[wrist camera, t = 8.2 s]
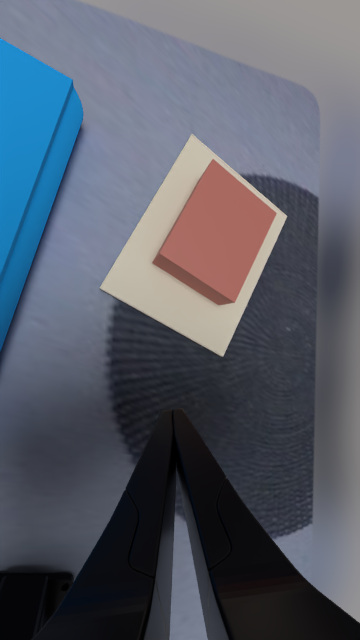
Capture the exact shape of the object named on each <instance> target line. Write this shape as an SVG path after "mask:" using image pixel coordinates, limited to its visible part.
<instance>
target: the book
mask: <svg viewBox="0 0 360 640" xmlns="http://www.w3.org/2000/svg"><path fill="white" fill-rule="evenodd" d="M82 120H83V108H82V104H81V101H80V99H79V96H78V94H77V92H76V91H75V89H74V87H73V80H72V79H70V78H69V77H67V76H65V75H63V74H62V73H60V72H58V71H56V70H55V69H53V68H51V67H49V66H48V65H46V64H44V63H43V62H41V61H39V60H37V59H36V58H34V57H32V56H30V55H29V54H27V53H25V52H23V51H22V50H20V49H18V48H16V47H15V46H13V45H11V44H9V43H8V42H6V41H4V40H3V39H1V38H0V351H1V349H2V346H3V343H4V340H5V337H6V334H7V332H8V329H9V326H10V323H11V320H12V318H13V315H14V312H15V309H16V306H17V303H18V301H19V298H20V295H21V292H22V289H23V287H24V284H25V281H26V278H27V275H28V273H29V270H30V267H31V264H32V261H33V258H34V256H35V253H36V250H37V247H38V244H39V242H40V239H41V236H42V233H43V230H44V228H45V225H46V222H47V219H48V216H49V213H50V211H51V208H52V205H53V202H54V199H55V197H56V194H57V191H58V188H59V185H60V182H61V180H62V177H63V174H64V171H65V168H66V166H67V163H68V160H69V157H70V154H71V152H72V149H73V146H74V143H75V140H76V137H77V135H78V132H79V129H80V126H81V123H82Z"/></svg>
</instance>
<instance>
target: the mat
mask: <svg viewBox="0 0 360 640" xmlns="http://www.w3.org/2000/svg"><path fill="white" fill-rule="evenodd" d="M212 159H214V160H215V161H216V162H218V163H219V164H220V165H221V166H222V167H223V168H225V169H226V170H227V171H228V172H229V173H230V174H232V175H233V176H234V177H235V178H236V179H237V180H239V181H240V182H241V183H242V184H243V185H244V186H246V187H247V188H248V189H249V190H250V191H251V192H253V193H254V194H255V195H256V196H257V197H259V198H260V199H261V200H262V201H263V202H264V203H266V204H267V205H268V206H269V207H270V208H271V209H273V210H274V211H275V212H276V213H277V214H276V216H275V218H274V220H273V222H272V225H271V227H270V229H269V231H268V233H267V235H266V237H265V240H264V242H263V244H262V246H261V248H260V250H259V252H258V254H257V257H256V259H255V261H254V263H253V265H252V267H251V269H250V272H249V274H248V276H247V278H246V280H245V282H244V284H243V286H242V289H241V291H240V293H239V295H238V297H237V299H236V301H235V303H231V304H225V305H217V304H216V303H214V302H213V301H211V300H209V299H208V298H206V297H205V296H203V295H202V294H200V293H198V292H197V291H195V290H194V289H192V288H190V287H189V286H187V285H186V284H184V283H183V282H181V281H179V280H178V279H176V278H175V277H173V276H172V275H170V274H168V273H167V272H165V271H164V270H162V269H161V268H159V267H157V266H156V265H154V264H153V263H152V262H153V260H154V258H155V257H156V255H157V253H158V251H159V249H160V248H161V246H162V244H163V242H164V241H165V239H166V237H167V235H168V234H169V232H170V230H171V228H172V226H173V225H174V223H175V221H176V219H177V218H178V216H179V214H180V212H181V210H182V209H183V207H184V205H185V203H186V202H187V200H188V198H189V196H190V195H191V193H192V191H193V189H194V187H195V186H196V184H197V182H198V180H199V179H200V177H201V176H202V174H203V173H204V171H205V170H206V168H207V167H208V165H209V164H210V162H211V161H212ZM286 218H287V216H286V215H285V214H284V213H283V212H282V211H280V210H279V209H278V208H277V207H276V206H275V205H273V204H272V203H271V202H270V201H269V200H268V199H267V198H265V197H264V196H263V195H262V194H261V193H260V192H258V191H257V190H256V189H255V188H254V187H253V186H252V185H250V184H249V183H248V182H247V181H246V180H245V179H243V178H242V177H241V176H240V175H239V174H238V173H236V172H235V171H234V170H233V169H232V168H231V167H230V166H228V165H227V164H226V163H225V162H224V161H223V160H221V159H220V158H219V157H218V156H217V155H216V154H214V153H213V152H212V151H211V150H210V149H209V148H208V147H206V146H205V145H204V144H203V143H202V142H201V141H199V140H198V139H197V138H196V137H195V136H194V135H191V137H190V138H189V140H188V142H187V143H186V145H185V147H184V148H183V150H182V152H181V153H180V155H179V157H178V158H177V160H176V162H175V163H174V165H173V167H172V168H171V170H170V172H169V173H168V175H167V177H166V178H165V180H164V182H163V183H162V185H161V187H160V188H159V190H158V192H157V193H156V195H155V197H154V198H153V200H152V202H151V203H150V205H149V207H148V208H147V210H146V212H145V213H144V215H143V217H142V218H141V220H140V222H139V223H138V225H137V227H136V228H135V230H134V232H133V233H132V235H131V237H130V238H129V240H128V242H127V243H126V245H125V247H124V248H123V250H122V252H121V253H120V255H119V257H118V258H117V260H116V262H115V263H114V265H113V267H112V268H111V270H110V272H109V273H108V275H107V277H106V278H105V280H104V282H103V283H102V285H101V287H100V289H101V290H102V291H104V292H106V293H108V294H110V295H111V296H113V297H115V298H117V299H119V300H120V301H122V302H124V303H126V304H128V305H129V306H131V307H133V308H135V309H136V310H138V311H140V312H142V313H144V314H145V315H147V316H149V317H151V318H153V319H154V320H156V321H158V322H160V323H162V324H163V325H165V326H167V327H169V328H171V329H172V330H174V331H176V332H178V333H180V334H181V335H183V336H185V337H187V338H188V339H190V340H192V341H194V342H196V343H197V344H199V345H201V346H203V347H205V348H206V349H208V350H210V351H212V352H214V353H215V354H217V355H219V356H221V357H223V356H224V354H225V351H226V349H227V347H228V345H229V343H230V340H231V338H232V336H233V334H234V332H235V329H236V327H237V325H238V323H239V321H240V319H241V316H242V314H243V312H244V310H245V308H246V305H247V303H248V301H249V299H250V297H251V294H252V292H253V290H254V288H255V286H256V284H257V281H258V279H259V277H260V275H261V273H262V270H263V268H264V266H265V264H266V262H267V259H268V257H269V255H270V253H271V251H272V249H273V246H274V244H275V242H276V240H277V238H278V235H279V233H280V231H281V229H282V227H283V225H284V222H285V220H286Z"/></svg>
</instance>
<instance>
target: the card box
mask: <svg viewBox="0 0 360 640" xmlns="http://www.w3.org/2000/svg"><path fill="white" fill-rule="evenodd" d="M276 214H277V213H276V212H275V211H274V210H273V209H271V208H270V207H269V206H268V205H267V204H266V203H264V202H263V201H262V200H261V199H260V198H259V197H257V196H256V195H255V194H254V193H253V192H251V191H250V190H249V189H248V188H247V187H246V186H244V185H243V184H242V183H241V182H240V181H239V180H237V179H236V178H235V177H234V176H233V175H232V174H230V173H229V172H228V171H227V170H226V169H225V168H223V167H222V166H221V165H220V164H219V163H218V162H216V161H215V160H214V159H212V161H211V162H210V164H209V165H208V167H207V168H206V170H205V171H204V173H203V174H202V176H201V177H200V179H199V180H198V182H197V184H196V186H195V187H194V189H193V191H192V193H191V195H190V196H189V198H188V200H187V202H186V203H185V205H184V207H183V209H182V210H181V212H180V214H179V216H178V218H177V219H176V221H175V223H174V225H173V226H172V228H171V230H170V232H169V234H168V235H167V237H166V239H165V241H164V242H163V244H162V246H161V248H160V249H159V251H158V253H157V255H156V257H155V258H154V260H153V262H152V263H153V264H154V265H156V266H157V267H159V268H161V269H162V270H164V271H165V272H167V273H168V274H170V275H172V276H173V277H175V278H176V279H178V280H179V281H181V282H183V283H184V284H186V285H187V286H189V287H190V288H192V289H194V290H195V291H197V292H198V293H200V294H202V295H203V296H205V297H206V298H208V299H209V300H211V301H213V302H214V303H216V304H217V305H225V304H231V303H235V301H236V299H237V297H238V295H239V293H240V291H241V289H242V286H243V284H244V282H245V280H246V278H247V276H248V274H249V272H250V269H251V267H252V265H253V263H254V261H255V259H256V257H257V254H258V252H259V250H260V248H261V246H262V244H263V242H264V240H265V237H266V235H267V233H268V231H269V229H270V227H271V225H272V222H273V220H274V218H275V216H276Z"/></svg>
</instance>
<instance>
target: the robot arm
mask: <svg viewBox="0 0 360 640" xmlns="http://www.w3.org/2000/svg"><path fill="white" fill-rule="evenodd" d="M176 464H177V472H178V478H179V483H180V489H181V494H182V500H183V505H184V511H185V516H186V522H187V527H188V533H189V538H190V544H191V549H192V555H193V560H194V566H195V571H196V577H197V582H198V588H199V593H200V599H201V604H202V610H203V615H204V621H205V626H206V632H207V637H208V640H360V623H359V622H357V621H356V620H355V619H354V618H353V617H351V616H350V615H349V614H348V613H346V612H345V611H344V610H342V609H341V608H340V607H339V606H337V605H336V604H335V603H334V602H332V601H331V600H329V599H328V598H327V597H326V596H324V595H323V594H322V593H321V592H319V591H318V590H317V589H316V588H315V587H314V586H313V585H311V584H310V583H309V582H308V581H307V580H306V579H305V578H304V577H303V576H302V575H301V574H300V572H299V571H298V570H297V569H296V568H295V567H294V566H293V564H292V563H291V562H290V561H289V560H288V558H287V557H286V556H285V555H284V553H283V552H282V551H281V550H280V548H279V547H278V546H277V545H276V543H275V542H274V541H273V540H272V538H271V537H270V536H269V535H268V533H267V532H266V531H265V530H264V528H263V527H262V526H261V525H260V523H259V522H258V521H257V520H256V518H255V517H254V516H253V514H252V513H251V512H250V511H249V509H248V508H247V507H246V505H245V504H244V503H243V501H242V500H241V498H240V497H239V495H238V494H237V492H236V491H235V489H234V488H233V486H232V485H231V483H230V482H229V480H228V479H226V476H225V474H224V472H223V471H222V469H221V468H220V466H219V465H218V463H217V461H216V460H215V458H214V457H213V455H212V454H211V452H210V451H209V449H208V447H207V446H206V444H205V443H204V441H203V440H202V438H201V436H200V435H199V433H198V432H197V430H196V429H195V427H194V425H193V424H192V422H191V421H190V419H189V418H188V416H187V415H186V413H185V411H184V410H183V409H182V408H177V409H173V412H172V410H171V409H167V410H162V412H161V414H160V416H159V418H158V420H157V422H156V424H155V426H154V429H153V431H152V433H151V435H150V437H149V439H148V441H147V444H146V446H145V448H144V450H143V452H142V454H141V456H140V459H139V461H138V463H137V465H136V467H135V469H134V471H133V473H132V476H131V478H130V480H129V482H128V484H127V486H126V490H125V491H124V492H123V495H122V497H121V499H120V501H119V503H118V505H117V507H116V509H115V511H114V513H113V515H112V517H111V519H110V521H109V523H108V524H107V526H106V528H105V530H104V531H103V533H102V535H101V537H100V539H99V540H98V542H97V544H96V545H95V547H94V549H93V550H92V552H91V554H90V555H89V557H88V559H87V561H86V562H85V564H84V566H83V567H82V569H81V571H80V572H79V574H78V576H77V577H76V579H75V581H74V577H73V575H72V574H62V573H0V640H169V636H170V613H171V589H172V565H173V541H174V517H175V493H176ZM73 581H74V583H73ZM65 583H68V584H67V585H64V584H65Z"/></svg>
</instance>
